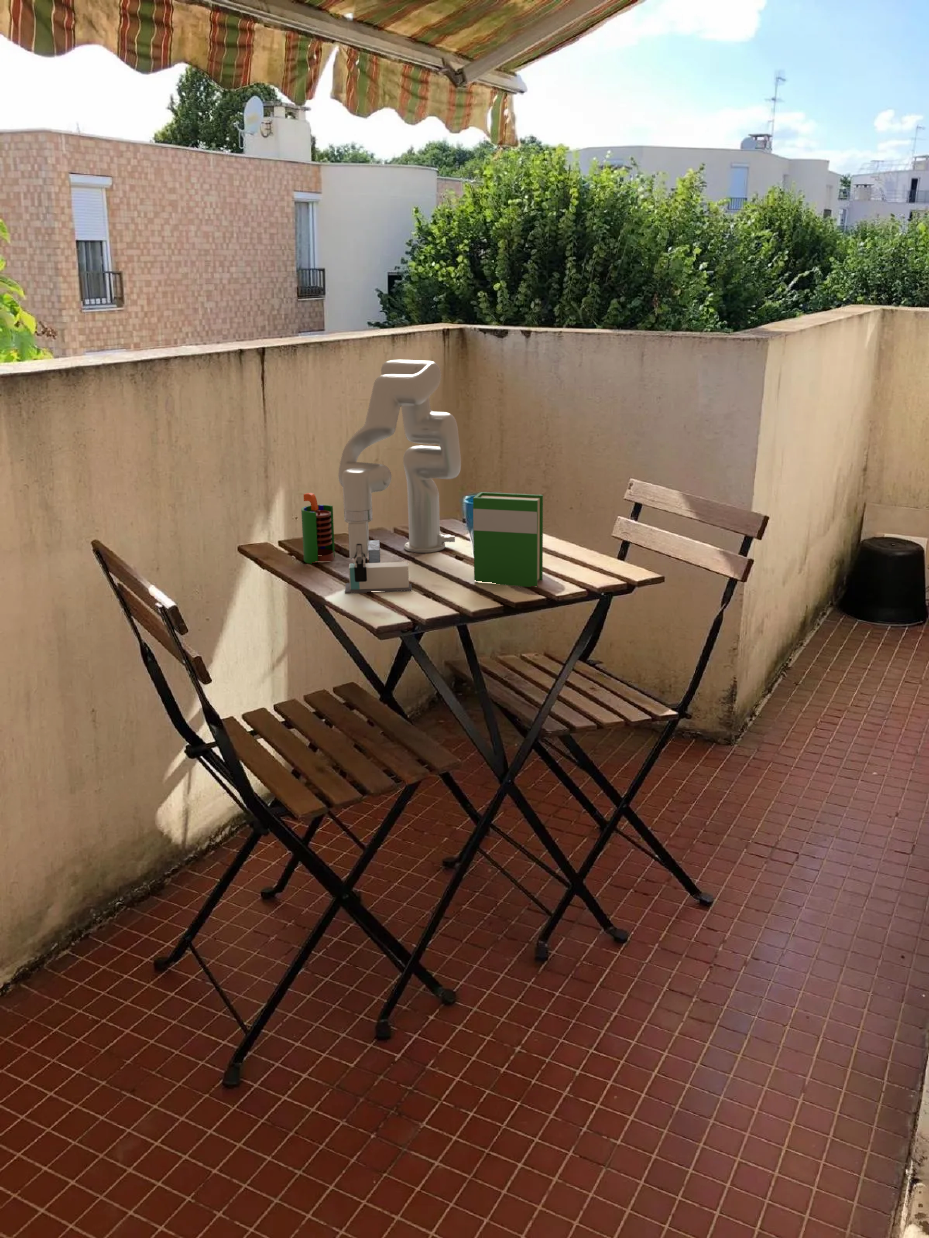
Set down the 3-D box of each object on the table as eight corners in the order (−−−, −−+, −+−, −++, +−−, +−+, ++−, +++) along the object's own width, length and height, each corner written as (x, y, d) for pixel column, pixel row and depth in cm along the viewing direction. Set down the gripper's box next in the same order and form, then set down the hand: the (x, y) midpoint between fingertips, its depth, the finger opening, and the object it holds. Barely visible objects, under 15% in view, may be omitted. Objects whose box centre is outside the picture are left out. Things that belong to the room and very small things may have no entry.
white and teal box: (408, 582, 304) (407, 561, 302) (408, 587, 299) (408, 566, 297) (350, 584, 303) (349, 563, 301) (350, 589, 299) (348, 568, 297)
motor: (327, 564, 324) (323, 498, 317) (299, 563, 326) (294, 497, 319) (338, 555, 333) (334, 490, 327) (310, 554, 335) (306, 489, 328)
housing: (380, 566, 321) (379, 537, 318) (380, 582, 306) (379, 552, 303) (370, 566, 321) (369, 537, 318) (369, 583, 306) (368, 553, 303)
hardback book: (542, 579, 306) (543, 494, 298) (536, 587, 299) (537, 500, 292) (481, 575, 311) (480, 492, 303) (474, 582, 304) (473, 497, 296)
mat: (411, 582, 305) (411, 580, 305) (411, 591, 298) (411, 589, 298) (346, 584, 304) (345, 583, 304) (344, 593, 297) (344, 591, 297)
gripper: (345, 508, 302) (348, 567, 308) (343, 523, 286) (346, 586, 291) (372, 507, 303) (375, 567, 308) (371, 522, 286) (374, 585, 292)
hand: (361, 576), depth 300 cm, fingers open, 9 cm apart
